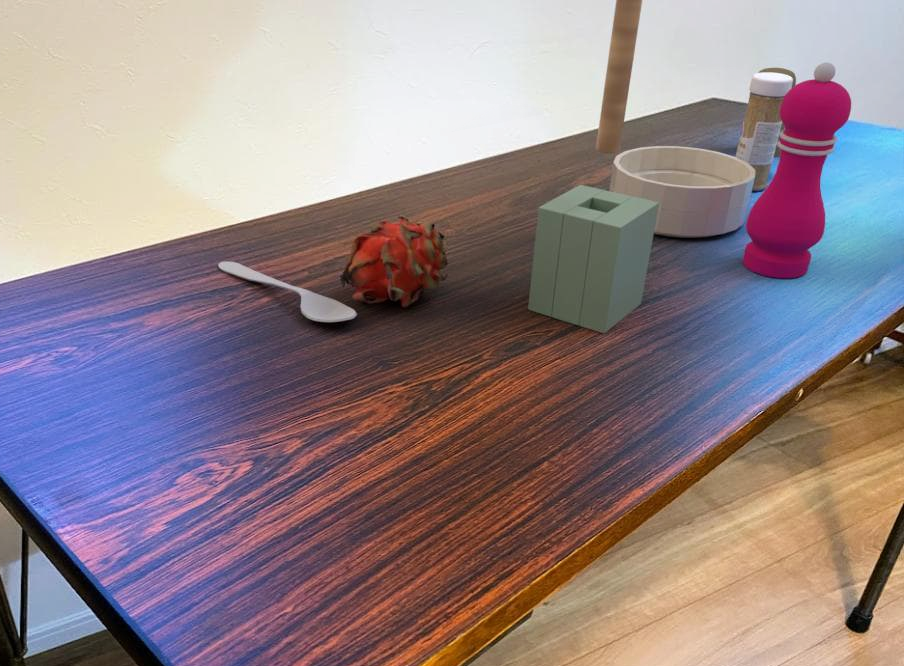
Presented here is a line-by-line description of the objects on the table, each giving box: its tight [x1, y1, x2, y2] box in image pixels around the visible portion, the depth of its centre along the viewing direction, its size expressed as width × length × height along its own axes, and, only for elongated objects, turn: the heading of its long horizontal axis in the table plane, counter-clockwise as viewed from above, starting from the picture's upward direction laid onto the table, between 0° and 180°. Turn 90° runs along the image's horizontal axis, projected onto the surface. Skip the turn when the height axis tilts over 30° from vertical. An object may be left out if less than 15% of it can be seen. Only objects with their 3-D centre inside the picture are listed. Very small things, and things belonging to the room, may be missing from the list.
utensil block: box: [527, 184, 659, 334], centre depth 82 cm, size 8×8×10 cm
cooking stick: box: [595, 0, 643, 155], centre depth 73 cm, size 2×2×20 cm
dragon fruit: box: [339, 214, 449, 308], centre depth 85 cm, size 8×8×12 cm
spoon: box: [217, 261, 358, 323], centre depth 87 cm, size 4×21×2 cm, turn 42°
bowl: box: [608, 145, 755, 239], centre depth 104 cm, size 15×15×6 cm
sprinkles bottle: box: [735, 72, 793, 192], centre depth 111 cm, size 5×5×13 cm
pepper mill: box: [742, 62, 852, 279], centre depth 88 cm, size 7×7×20 cm
